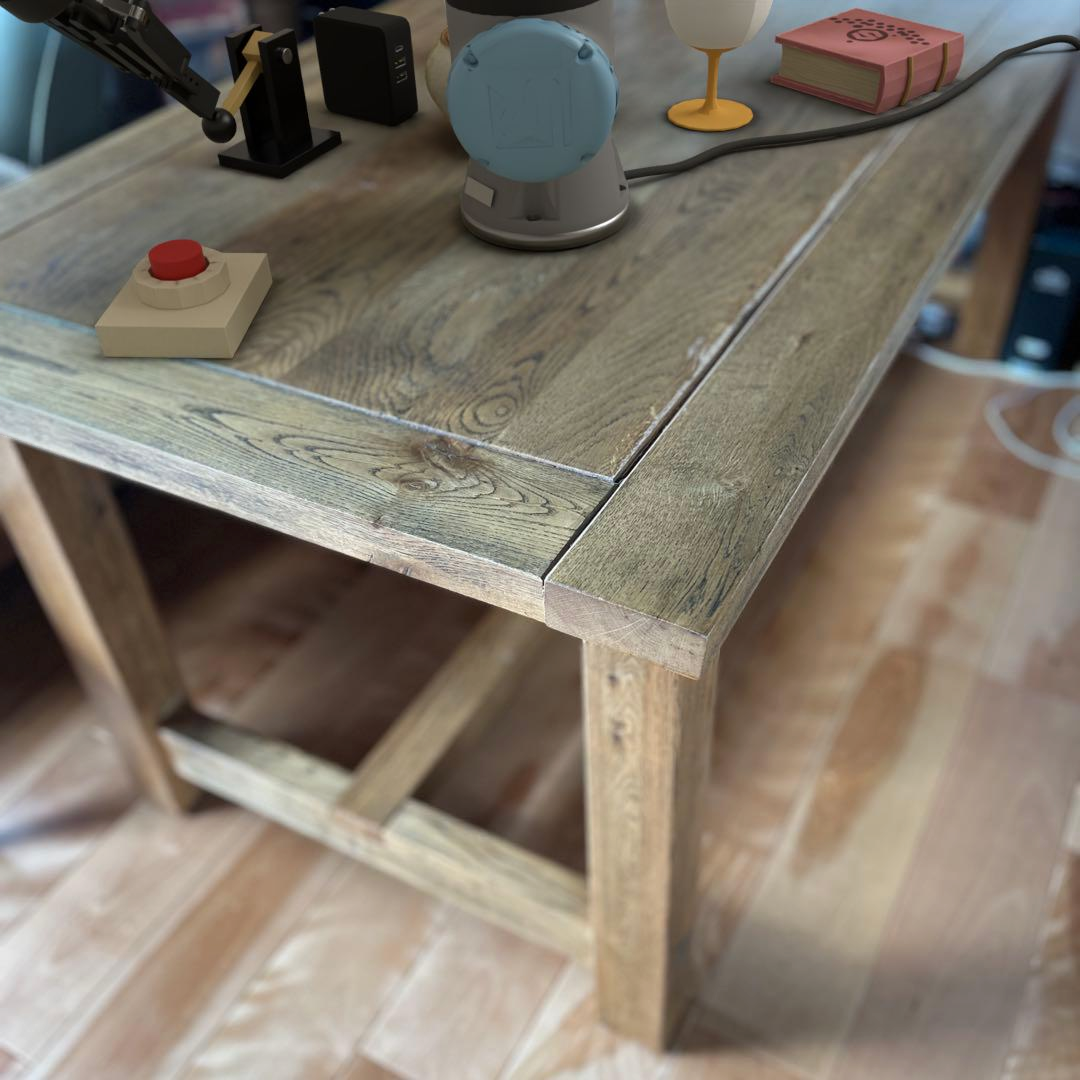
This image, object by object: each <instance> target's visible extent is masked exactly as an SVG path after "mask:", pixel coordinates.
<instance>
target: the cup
mask: <svg viewBox="0 0 1080 1080" xmlns="http://www.w3.org/2000/svg"><path fill="white" fill-rule="evenodd" d="M773 2H774V0H664V6H665V9H666V15H667V19H668V22H669V24H670V26H671V28H672V30H673V32H674V34H675V36H676V37H677V38H678V39H679V40H680V41H681V42H682V43H684V44H685V45H687V46H689V47H691V48H693V49H695V50H697V51H700V52H703V53H705V54H706V56H707V82H706V83H707V84H706V93H705V98H695V99H690V100H684V101H681V102H679V103H676V104H674V105H672V106H671V108H669V110H668V111H667V118H668V120H669V121H670V122H672V123H673V124H674V125H676V126H678V127H681V128H683V129H687V130H691V131H699V132H725V131H729V130H731V131H732V130H735V129H738V128H741V127H744V126H745V125H748V124H749V123H750V122H751V121H752V119H753V118H754V114H753V112H752V110H751V108H749V107H748V106H746V105H745V104H743V103H740V102H737V101H733V100H730V99H721V98H717V97H718V96H717V95H718V92H717V91H718V74H719V66H720V58H721V56H722V55H723V54H724V53H728V52H730V51H734V50H735V49H738V48H739V47H742V46H744V45H746V44H747V43H749V42H750V41H751V40H752V39H754V37H755V36H756V35H757V34H758V33H759V31H760V29H762V27H763V25H764V24H765V22H766V21H767V19H768V17H769V13H770V11H771V8H772V5H773Z"/></svg>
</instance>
